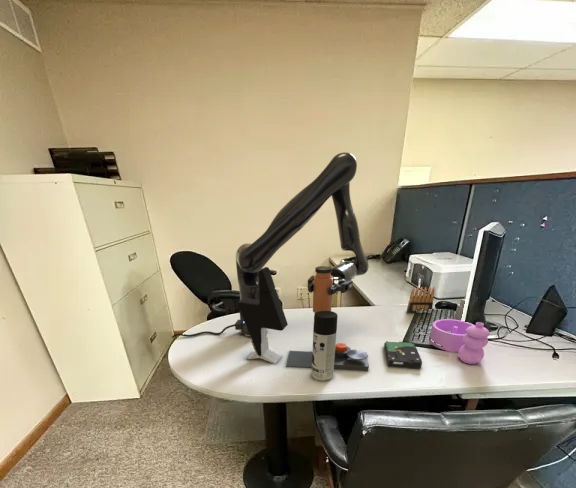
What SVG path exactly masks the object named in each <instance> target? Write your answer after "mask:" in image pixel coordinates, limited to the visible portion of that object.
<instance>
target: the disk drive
mask: <svg viewBox="0 0 576 488" xmlns="http://www.w3.org/2000/svg"><path fill="white" fill-rule="evenodd" d="M383 349H384V353H385V358H386V362H387V366H388V367H391V368H403V369H404V368H405V369H422V367H423V366H422V365H423V360H422V358H421V356H420V353H419V351H418V348H417V346H416V343H415V342H409V341H387V340H386V341H385V342H384V343H383Z"/></svg>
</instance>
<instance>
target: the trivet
mask: <svg viewBox="0 0 576 488" xmlns="http://www.w3.org/2000/svg"><path fill="white" fill-rule="evenodd" d="M312 352H313V351H303V350H289V353H288V357H287V361H286V368H299V369H301V368H302V369H312Z"/></svg>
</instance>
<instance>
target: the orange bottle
mask: <svg viewBox="0 0 576 488" xmlns="http://www.w3.org/2000/svg"><path fill="white" fill-rule="evenodd" d="M332 267H333V266H328V265H327V266H326V265H320V266H316V267H315V268H314V269H315V271H314V272H315V275H313V276H314V285H313V292H312V312H313V313H314V314H315V313H316V312H318V311H332V301H333V294H332V295H329V288H330V287H331V286H332V285H333V276H331V272H332Z"/></svg>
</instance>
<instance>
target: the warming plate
mask: <svg viewBox="0 0 576 488" xmlns="http://www.w3.org/2000/svg"><path fill="white" fill-rule="evenodd" d="M346 355H347V357H348V358H350V359H353V360H364V359H366V358H367V359H368V357H369V354H368V352H367V351H365V350H361V349H351V350H349V351H348V352H347V353H346Z"/></svg>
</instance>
